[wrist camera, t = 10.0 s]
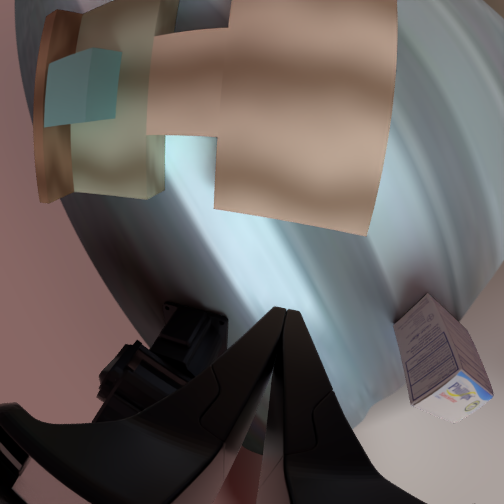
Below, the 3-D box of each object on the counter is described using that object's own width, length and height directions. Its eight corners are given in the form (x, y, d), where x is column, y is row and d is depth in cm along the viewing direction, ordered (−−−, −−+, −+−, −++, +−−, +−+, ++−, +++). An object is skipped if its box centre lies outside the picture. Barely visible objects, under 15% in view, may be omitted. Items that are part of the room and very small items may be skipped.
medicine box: (391, 323, 21) (407, 407, 13) (428, 289, 18) (462, 370, 11) (435, 355, 21) (453, 426, 14) (467, 328, 19) (496, 397, 11)
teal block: (115, 118, 15) (85, 122, 13) (72, 122, 16) (44, 127, 13) (122, 52, 13) (93, 47, 10) (76, 64, 13) (49, 63, 11)
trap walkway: (360, 221, 17) (375, 260, 13) (83, 182, 21) (39, 202, 16) (387, 5, 10) (409, -30, 5) (90, 23, 14) (46, 16, 9)
